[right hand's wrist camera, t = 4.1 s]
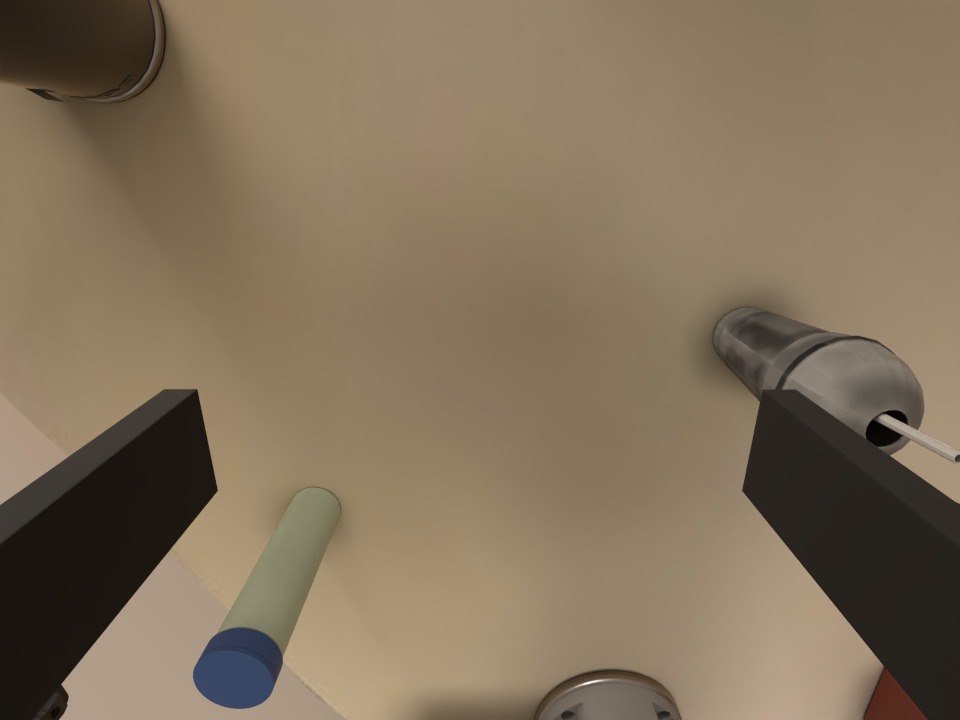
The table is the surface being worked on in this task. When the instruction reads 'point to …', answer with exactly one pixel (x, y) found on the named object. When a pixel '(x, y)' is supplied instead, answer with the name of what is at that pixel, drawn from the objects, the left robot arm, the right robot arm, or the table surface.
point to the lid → (238, 668)
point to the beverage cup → (829, 375)
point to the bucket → (892, 702)
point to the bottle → (286, 568)
